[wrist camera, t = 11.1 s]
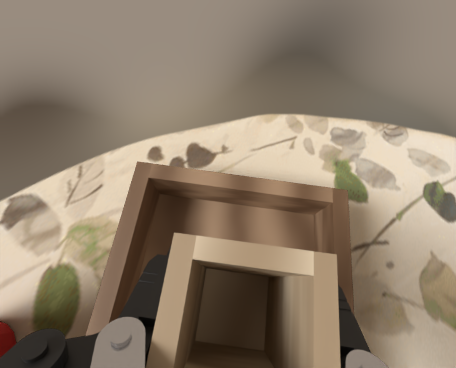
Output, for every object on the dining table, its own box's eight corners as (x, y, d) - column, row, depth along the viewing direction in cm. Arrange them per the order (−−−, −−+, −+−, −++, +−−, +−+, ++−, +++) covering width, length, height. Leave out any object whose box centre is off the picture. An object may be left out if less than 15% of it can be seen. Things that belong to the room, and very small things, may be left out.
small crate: (181, 350, 13) (129, 446, 6) (197, 255, 15) (174, 232, 7) (273, 363, 13) (344, 479, 6) (278, 266, 15) (336, 254, 7)
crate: (93, 409, 22) (49, 454, 16) (152, 183, 30) (137, 161, 24) (325, 444, 21) (363, 502, 16) (323, 206, 29) (347, 190, 24)
